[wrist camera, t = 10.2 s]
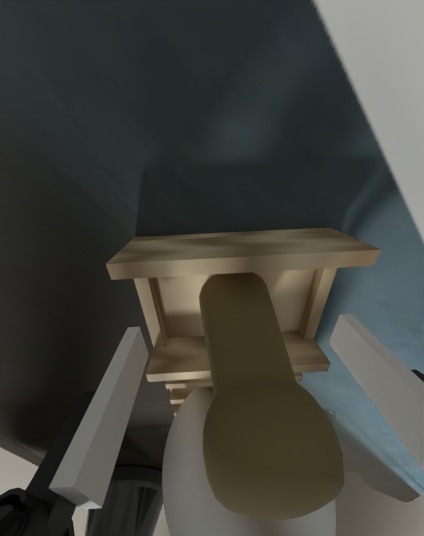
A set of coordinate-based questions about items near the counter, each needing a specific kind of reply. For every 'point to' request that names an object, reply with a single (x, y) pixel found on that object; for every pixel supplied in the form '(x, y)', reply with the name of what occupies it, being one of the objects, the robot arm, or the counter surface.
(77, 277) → the counter surface
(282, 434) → the cork
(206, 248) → the rack
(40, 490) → the robot arm
